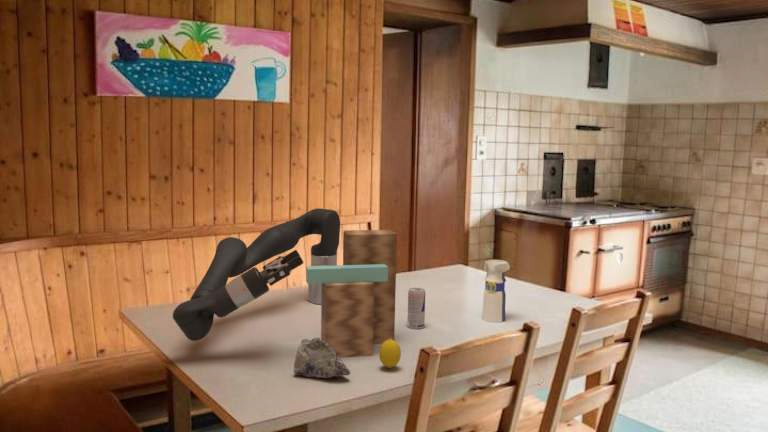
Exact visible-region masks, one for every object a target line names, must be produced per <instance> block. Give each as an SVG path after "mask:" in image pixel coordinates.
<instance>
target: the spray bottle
mask: <svg viewBox="0 0 768 432" xmlns="http://www.w3.org/2000/svg"><path fill="white" fill-rule="evenodd" d="M483 250H484V256H486V255H487V256H490V252H491V251H492V249H490V248H489V245H487V246H486V248H485V247H484V248H483ZM510 269H511V266H510V264H509V262H508V261H506V260H502V259H488V260H485V261H484V267H483V270H484V273H486V275H485V277H484V281H485V285H484V286H485V288H484V291H483V302H482V304H483V305H482V314H481V319H482V321H485V322H489V323H504V322H505V321H506V301H507V300H506V299H507V298H506V296H507V295H506V291H505V287H506V281H507V279H506V277H505V274H506V272H507V271H509V270H510Z"/></svg>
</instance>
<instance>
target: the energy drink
mask: <svg viewBox="0 0 768 432" xmlns="http://www.w3.org/2000/svg"><path fill="white" fill-rule="evenodd" d="M425 316H426V289H424V288H421V287H409V289H408V291H407V322H406V323H407V325H406V326H407V327H408V328H409V329H413V330H422V329H424V328H425V318H426V317H425Z"/></svg>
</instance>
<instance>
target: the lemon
mask: <svg viewBox="0 0 768 432" xmlns="http://www.w3.org/2000/svg"><path fill="white" fill-rule="evenodd" d="M378 354H379V355H378V356H379V360H380V362H381V364H382V365H384V366H385V367H387V369H390V370H391V369H392V368H393V367H395V366H397V365H398V364H399V362H400V361H401V356H402V355H401V347H400V344H399V343H398V342H397V341H395V339H394V340H392V339H389V340H386V341H385V342H383V343H381V345H380V347H379V353H378Z"/></svg>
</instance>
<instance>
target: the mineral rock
mask: <svg viewBox="0 0 768 432" xmlns="http://www.w3.org/2000/svg"><path fill="white" fill-rule="evenodd" d="M293 373H294V374H295V375H296V376H303V377H308V378H312V377H315V378H318V379H319V378H320V379H321V378H323V379H331V378H334V377H335V378H339V377H342V376H350V375H351V370H350V369H349V368H348V367H347V365H346V364H345V363H344V362H343V360H342V359H341V357H337V356H336V353H335V351H334V349H333V348H332V347H331V346H330V345H328V344H327V343H325V342H324V341H322V340H321V337H313V338H312V339H308V338H303V339H301V342H300V344H299V346H298V348H297V350H296V354H295V359H294V364H293Z"/></svg>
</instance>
